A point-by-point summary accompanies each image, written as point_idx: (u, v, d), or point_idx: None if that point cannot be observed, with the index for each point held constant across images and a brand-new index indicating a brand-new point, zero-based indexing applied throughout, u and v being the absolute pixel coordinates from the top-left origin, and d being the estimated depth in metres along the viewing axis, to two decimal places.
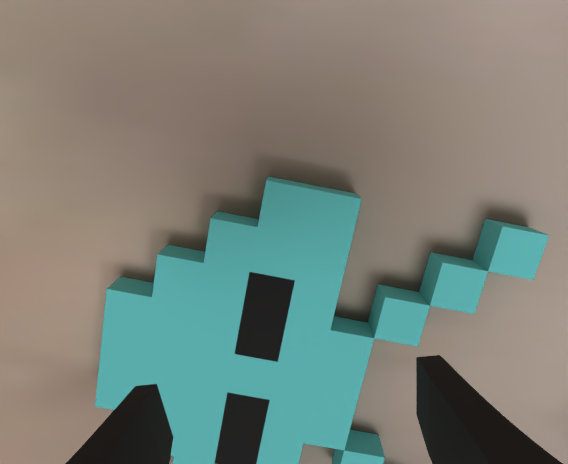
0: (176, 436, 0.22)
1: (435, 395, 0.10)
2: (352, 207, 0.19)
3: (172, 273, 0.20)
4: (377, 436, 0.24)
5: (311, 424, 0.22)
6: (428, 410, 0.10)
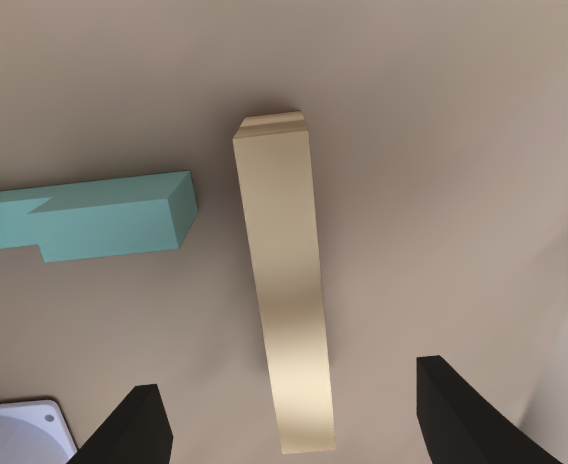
0: None
1: (435, 395, 0.10)
2: None
3: None
4: None
5: None
6: (428, 410, 0.10)
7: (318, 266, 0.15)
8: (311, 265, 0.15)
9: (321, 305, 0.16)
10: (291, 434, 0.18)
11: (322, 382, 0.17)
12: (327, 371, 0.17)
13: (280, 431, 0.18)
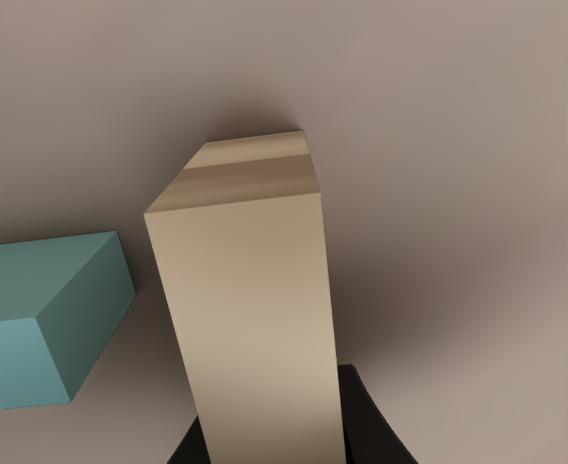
0: None
1: None
2: None
3: None
4: None
5: None
6: None
7: (341, 451, 0.07)
8: (327, 450, 0.07)
9: None
10: None
11: None
12: None
13: None
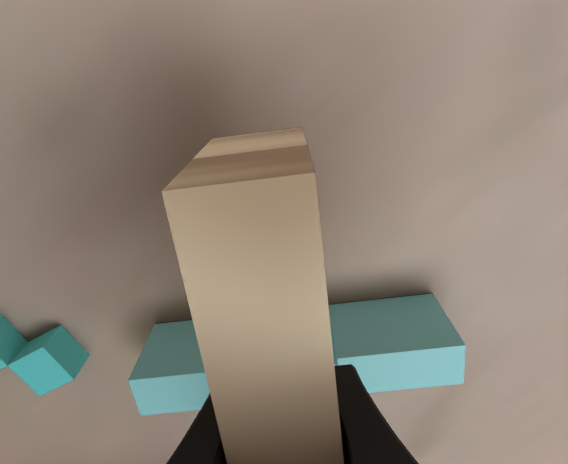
0: None
1: None
2: None
3: None
4: None
5: None
6: None
7: (336, 413, 0.08)
8: (322, 412, 0.08)
9: None
10: None
11: None
12: None
13: None
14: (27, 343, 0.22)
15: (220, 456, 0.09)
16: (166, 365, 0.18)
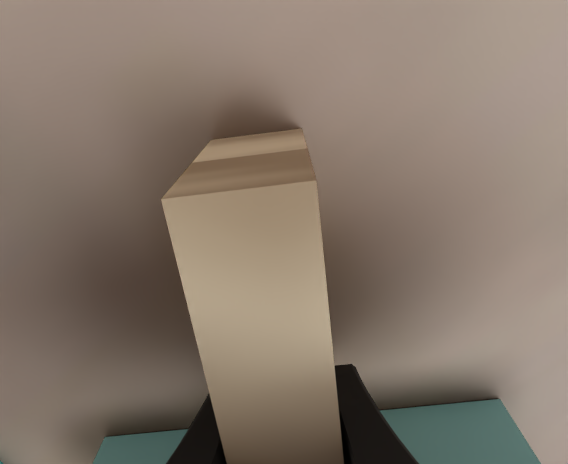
0: None
1: None
2: None
3: None
4: None
5: None
6: None
7: (336, 417, 0.08)
8: (323, 417, 0.08)
9: None
10: None
11: None
12: None
13: None
14: None
15: (219, 456, 0.09)
16: None
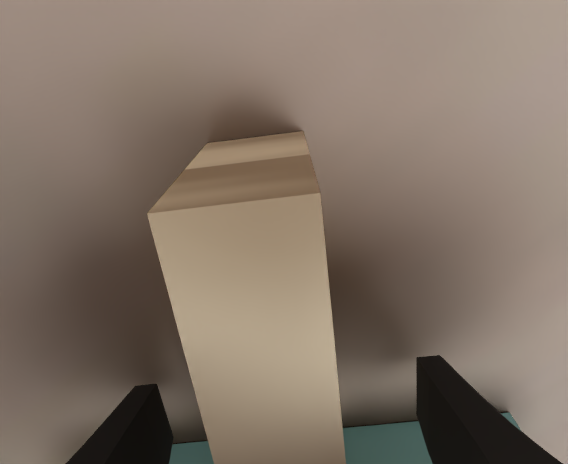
0: None
1: (435, 395, 0.10)
2: None
3: None
4: None
5: None
6: (428, 410, 0.10)
7: (341, 447, 0.08)
8: (326, 446, 0.08)
9: None
10: None
11: None
12: None
13: None
14: None
15: None
16: None
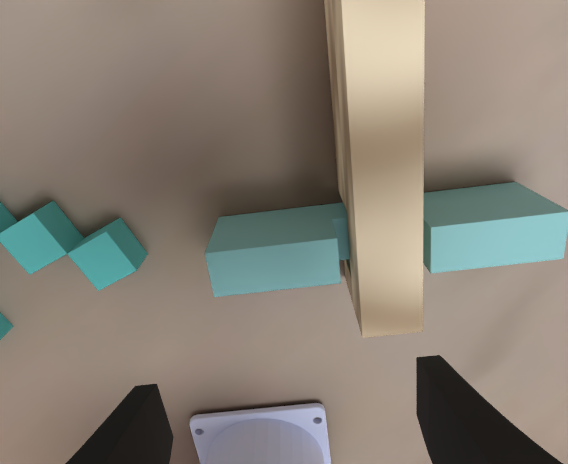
0: None
1: (435, 395, 0.10)
2: None
3: None
4: None
5: None
6: (428, 410, 0.10)
7: (422, 91, 0.13)
8: (413, 90, 0.13)
9: (421, 143, 0.14)
10: (374, 312, 0.16)
11: (414, 245, 0.15)
12: (421, 230, 0.15)
13: (362, 308, 0.16)
14: (84, 238, 0.20)
15: None
16: (243, 241, 0.17)
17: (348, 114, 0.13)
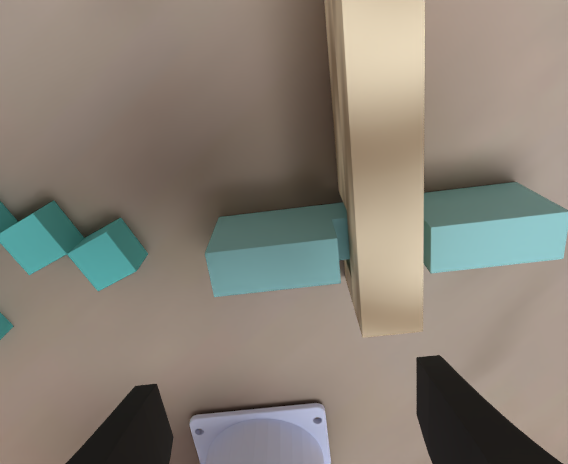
0: None
1: (435, 395, 0.10)
2: None
3: None
4: None
5: None
6: (428, 410, 0.10)
7: (422, 91, 0.13)
8: (414, 90, 0.13)
9: (422, 143, 0.14)
10: (374, 312, 0.16)
11: (414, 245, 0.15)
12: (421, 230, 0.15)
13: (363, 308, 0.16)
14: (84, 238, 0.20)
15: None
16: (243, 241, 0.17)
17: (348, 114, 0.13)
